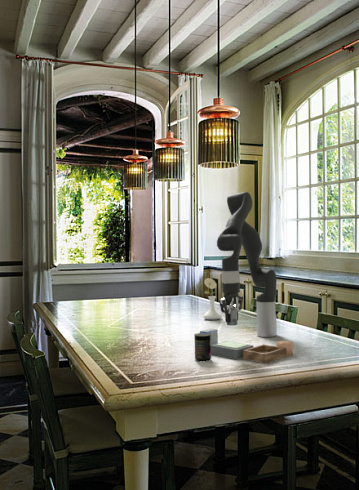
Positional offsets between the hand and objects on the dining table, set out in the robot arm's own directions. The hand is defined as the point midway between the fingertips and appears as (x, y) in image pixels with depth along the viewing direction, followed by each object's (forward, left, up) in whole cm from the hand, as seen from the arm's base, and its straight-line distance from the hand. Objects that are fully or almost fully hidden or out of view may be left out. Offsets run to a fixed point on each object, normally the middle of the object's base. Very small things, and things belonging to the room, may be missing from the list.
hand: (231, 321), depth 215 cm
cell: (0, 0, -1) cm, 1 cm away
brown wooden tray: (-4, +14, -14) cm, 20 cm away
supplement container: (+15, -3, -14) cm, 21 cm away
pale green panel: (0, 0, -11) cm, 11 cm away
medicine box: (-1, -14, -14) cm, 20 cm away
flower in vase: (-63, -67, -14) cm, 93 cm away
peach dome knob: (-14, +17, -14) cm, 26 cm away
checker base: (0, 0, -14) cm, 14 cm away
